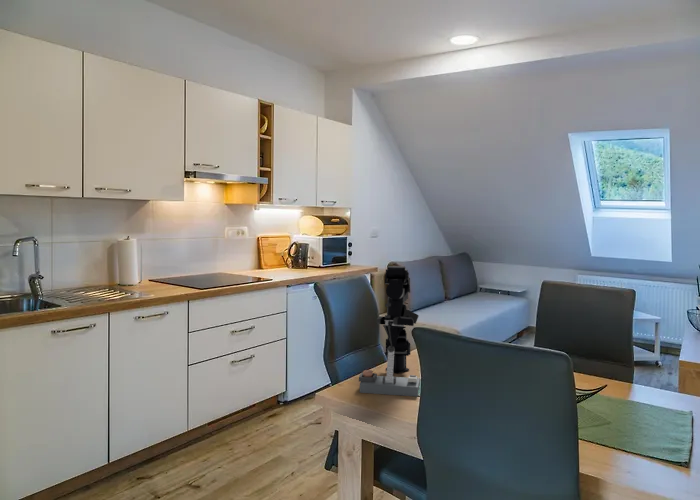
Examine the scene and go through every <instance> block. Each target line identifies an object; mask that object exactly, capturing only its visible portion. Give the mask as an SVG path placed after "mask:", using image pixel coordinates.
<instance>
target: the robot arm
mask: <svg viewBox="0 0 700 500" xmlns="http://www.w3.org/2000/svg"><path fill="white" fill-rule="evenodd" d="M384 275H385V276H384V284H385V285H387V286H386V290H385V292H386V295H387V303H385V305H384V306H385V307H387V308H386V309H387V310H386V314H384V316H378V317H377V318H376V324H377V325H382V327H384V328H383V329H384V331H385V334H386V335H387V338H386V339H385V355H386V356H388V347H389V346H393V347H394V348H395V351H394V366H393V374H394V373H395V374H400V373H404V372H408V371H410V368H408V367H407V357H408V356H410V355H411V352H412V351H411V342H410V341H409V339H408V337H407V336H408V335H407V331H406V326H410V327H411V326H412V327H414V326H415V324H417V321H418V319H419V316H420V315H419V314H417V313H415V312H413V311H411V310H409V309H407V305H406V304H405V302H406V301H407V300H408V299H409V293H411V278H410V272H409V271H408V269H406V266H401V265H400V266H398V265H397V266H396V265H394V266H391V265H390V266H387V269H385V274H384ZM385 371H387V367H385Z"/></svg>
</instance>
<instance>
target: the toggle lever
mask: <svg viewBox="0 0 700 500" xmlns="http://www.w3.org/2000/svg"><path fill="white" fill-rule="evenodd" d="M394 351H395V348H394V347H393V346H389V347H388V355H387V361H386V363H387V365H386V368H387V370H386V376H387V377H386V380H387V381H393V377H394V372H393V366H394Z"/></svg>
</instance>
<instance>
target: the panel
mask: <svg viewBox="0 0 700 500" xmlns="http://www.w3.org/2000/svg"><path fill="white" fill-rule="evenodd" d="M386 377H387V375H378V373H375V372H373V377H363V372H360V373H359V376H358V382H359V393H360V394H361V393H362V394H375V395H388V396H389V395H390V396H408V397H418V396H419V393H418V390H419V391H420V388H419V386H420V387H421V383H420V382H421V379H420V378H419V377H417V382H408V377H403V376H402V377H400V376H393V381H387V380H386Z"/></svg>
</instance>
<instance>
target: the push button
mask: <svg viewBox="0 0 700 500" xmlns="http://www.w3.org/2000/svg"><path fill="white" fill-rule="evenodd" d="M362 373H363V377H373V373H374V371H373V370H371V369H366V370H363V371H362Z"/></svg>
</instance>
